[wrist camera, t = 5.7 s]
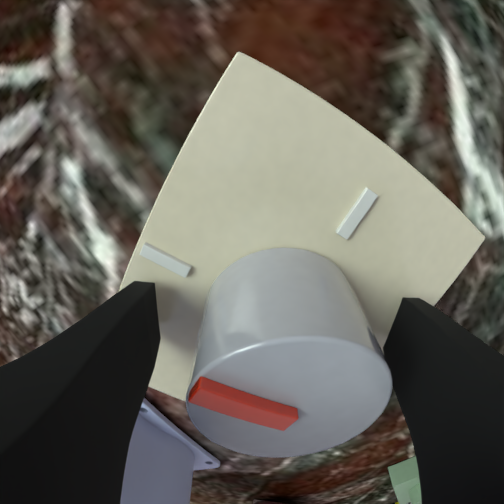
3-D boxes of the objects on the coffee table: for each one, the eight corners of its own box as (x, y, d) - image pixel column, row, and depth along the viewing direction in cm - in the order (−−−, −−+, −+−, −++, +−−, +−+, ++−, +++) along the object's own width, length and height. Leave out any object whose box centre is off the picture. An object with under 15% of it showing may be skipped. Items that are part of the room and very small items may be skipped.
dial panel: (291, 387, 15) (296, 438, 12) (118, 314, 13) (93, 364, 10) (442, 206, 11) (489, 239, 8) (241, 66, 9) (237, 48, 6)
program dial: (382, 289, 9) (437, 384, 5) (299, 381, 10) (312, 476, 7) (251, 216, 8) (251, 310, 4) (181, 335, 9) (156, 439, 6)
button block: (387, 467, 21) (397, 503, 17) (477, 424, 19) (493, 457, 15) (396, 490, 25) (403, 518, 21) (467, 458, 23) (477, 484, 19)
